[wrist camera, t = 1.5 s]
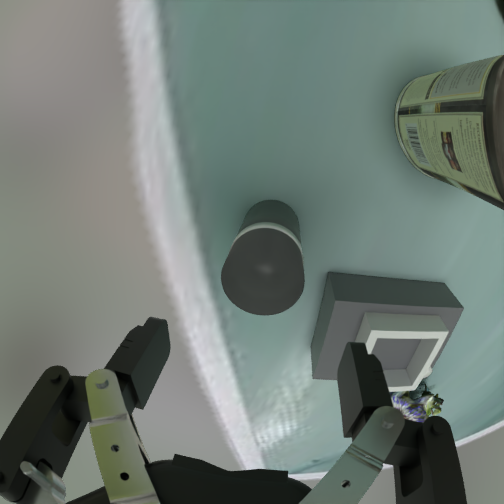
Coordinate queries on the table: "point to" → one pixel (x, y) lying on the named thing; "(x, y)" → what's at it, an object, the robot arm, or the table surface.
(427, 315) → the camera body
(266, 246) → the lens
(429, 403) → the passion flower
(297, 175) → the table surface
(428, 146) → the coffee can
